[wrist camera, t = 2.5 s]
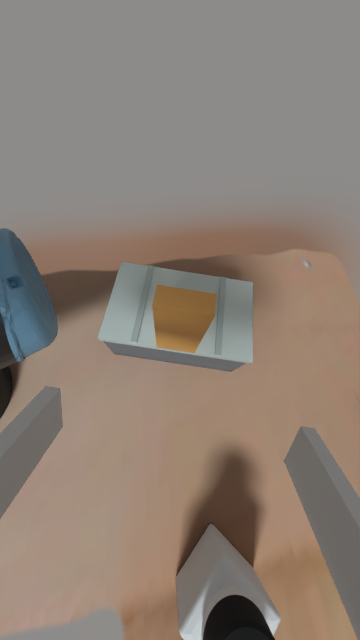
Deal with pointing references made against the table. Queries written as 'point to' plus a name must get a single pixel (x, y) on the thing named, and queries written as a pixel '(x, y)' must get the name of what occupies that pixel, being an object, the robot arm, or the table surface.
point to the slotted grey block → (180, 313)
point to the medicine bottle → (222, 594)
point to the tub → (173, 357)
